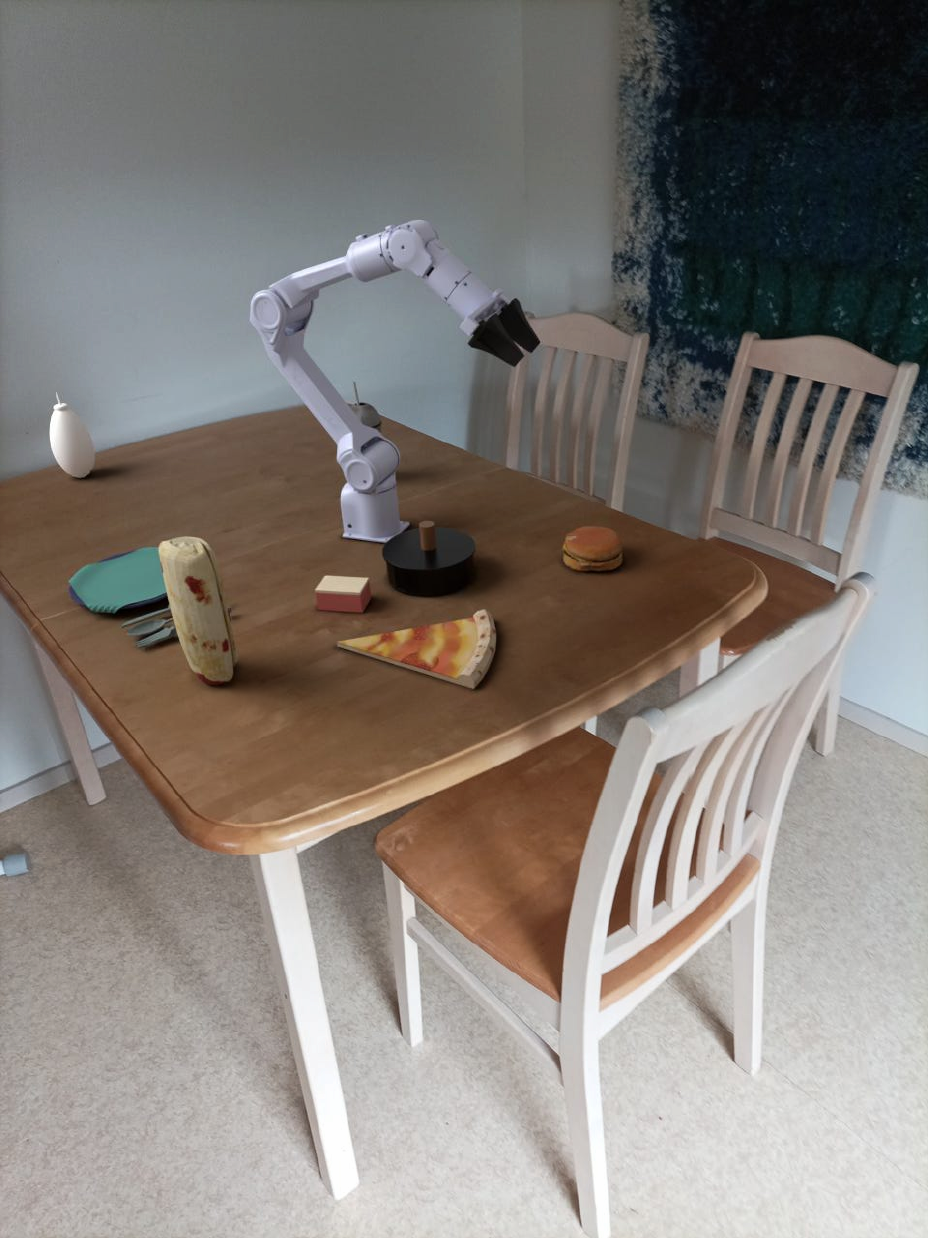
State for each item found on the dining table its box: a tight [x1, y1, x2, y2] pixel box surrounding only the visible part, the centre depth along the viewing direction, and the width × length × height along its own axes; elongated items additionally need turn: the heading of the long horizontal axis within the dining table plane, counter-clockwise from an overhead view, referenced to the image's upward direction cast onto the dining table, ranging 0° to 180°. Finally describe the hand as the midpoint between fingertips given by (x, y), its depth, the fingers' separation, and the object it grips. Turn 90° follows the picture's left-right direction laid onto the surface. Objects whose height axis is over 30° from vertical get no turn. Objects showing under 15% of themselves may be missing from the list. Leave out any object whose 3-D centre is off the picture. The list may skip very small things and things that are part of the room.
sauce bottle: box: [49, 391, 96, 479], centre depth 179 cm, size 8×8×18 cm
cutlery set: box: [67, 546, 232, 649], centre depth 136 cm, size 20×30×2 cm, turn 37°
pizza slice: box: [336, 608, 497, 690], centre depth 122 cm, size 16×22×2 cm
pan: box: [385, 555, 475, 598], centre depth 137 cm, size 14×14×4 cm
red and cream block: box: [314, 574, 372, 614], centre depth 131 cm, size 7×4×4 cm, turn 78°
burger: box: [561, 525, 624, 572], centre depth 139 cm, size 10×9×5 cm
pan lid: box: [381, 520, 477, 572], centre depth 135 cm, size 15×15×5 cm
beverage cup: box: [349, 381, 382, 451], centre depth 169 cm, size 7×7×20 cm
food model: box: [158, 535, 239, 686], centre depth 113 cm, size 10×7×20 cm
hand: (528, 354), depth 127 cm, fingers open, 7 cm apart
